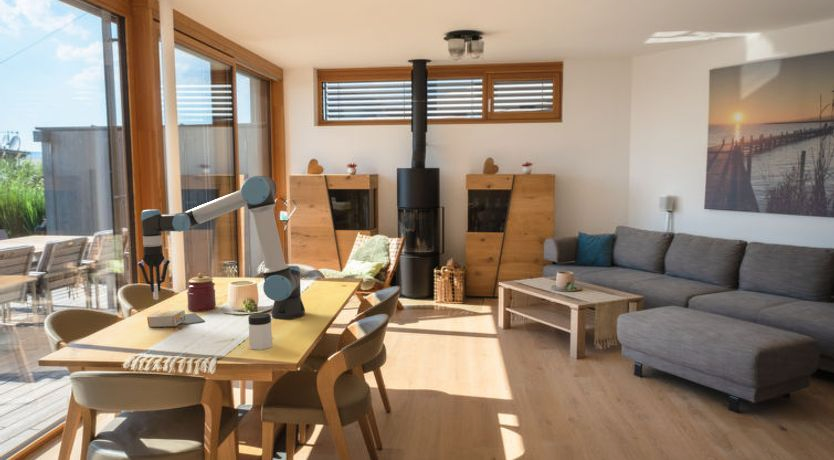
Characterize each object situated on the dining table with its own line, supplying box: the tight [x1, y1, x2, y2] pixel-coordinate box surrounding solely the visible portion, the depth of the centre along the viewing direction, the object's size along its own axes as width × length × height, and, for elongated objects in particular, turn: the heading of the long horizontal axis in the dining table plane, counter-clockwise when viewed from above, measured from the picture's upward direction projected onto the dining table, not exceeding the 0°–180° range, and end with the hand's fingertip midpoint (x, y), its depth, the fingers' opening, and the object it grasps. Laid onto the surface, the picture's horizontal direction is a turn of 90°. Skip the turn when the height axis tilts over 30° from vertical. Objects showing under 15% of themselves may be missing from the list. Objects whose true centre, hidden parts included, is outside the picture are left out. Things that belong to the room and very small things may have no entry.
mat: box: [161, 312, 206, 329], centre depth 261 cm, size 18×17×1 cm
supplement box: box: [146, 310, 186, 328], centre depth 253 cm, size 8×5×13 cm
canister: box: [186, 272, 217, 312], centre depth 283 cm, size 13×13×18 cm
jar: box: [248, 312, 273, 351], centre depth 220 cm, size 9×8×12 cm
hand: (156, 299), depth 255 cm, fingers closed
